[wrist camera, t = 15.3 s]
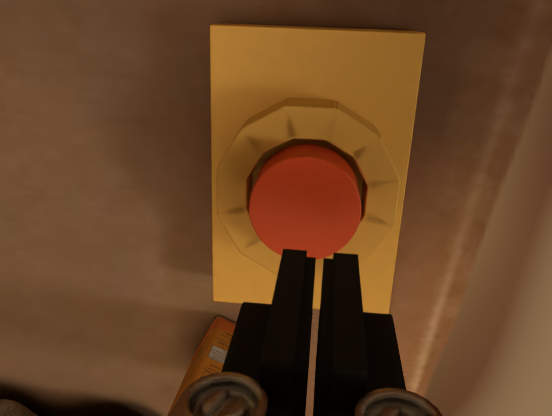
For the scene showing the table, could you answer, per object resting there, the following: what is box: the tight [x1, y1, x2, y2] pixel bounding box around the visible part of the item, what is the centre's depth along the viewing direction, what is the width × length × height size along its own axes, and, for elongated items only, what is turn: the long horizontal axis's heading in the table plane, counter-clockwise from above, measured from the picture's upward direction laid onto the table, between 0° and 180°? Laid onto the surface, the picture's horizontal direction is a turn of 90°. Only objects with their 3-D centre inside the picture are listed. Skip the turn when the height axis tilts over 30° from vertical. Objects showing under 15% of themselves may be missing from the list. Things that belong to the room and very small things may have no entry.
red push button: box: [249, 144, 361, 260], centre depth 19 cm, size 4×4×2 cm
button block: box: [210, 23, 426, 314], centre depth 21 cm, size 8×12×4 cm, turn 178°
